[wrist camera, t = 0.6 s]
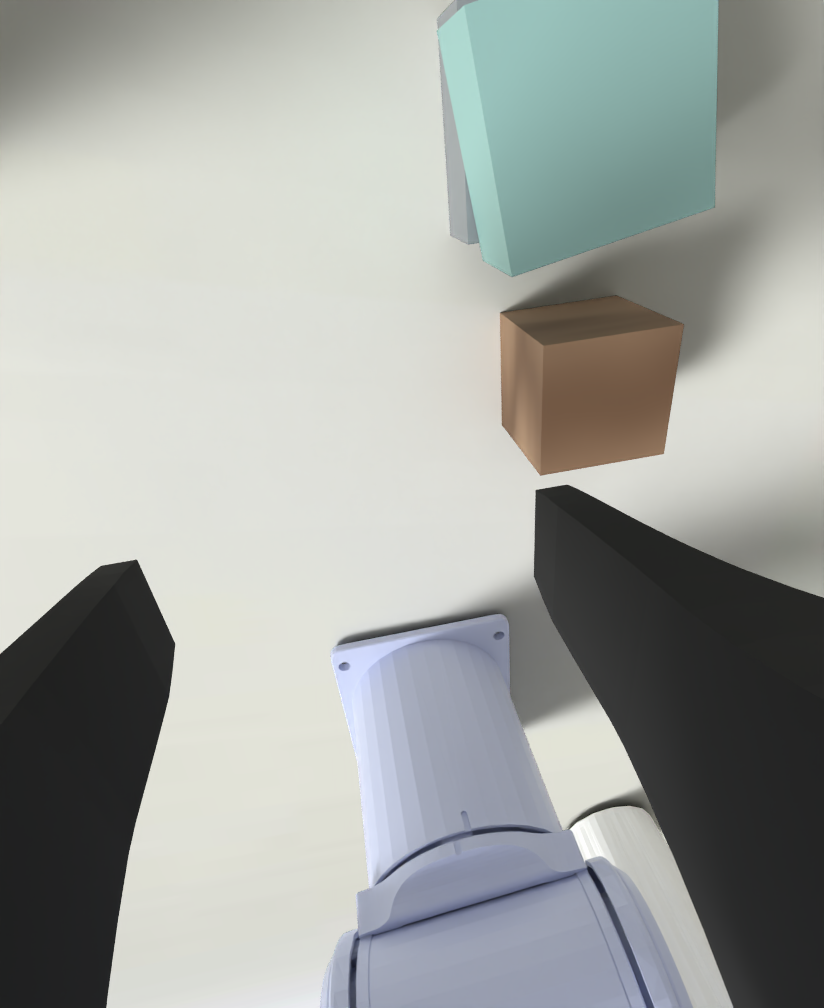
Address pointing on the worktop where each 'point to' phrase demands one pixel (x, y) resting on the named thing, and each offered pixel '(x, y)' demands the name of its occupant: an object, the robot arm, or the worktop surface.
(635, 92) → the mid slab
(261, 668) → the worktop surface
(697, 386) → the worktop surface
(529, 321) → the walnut cube
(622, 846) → the cup
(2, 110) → the worktop surface
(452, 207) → the base slab
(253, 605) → the worktop surface
